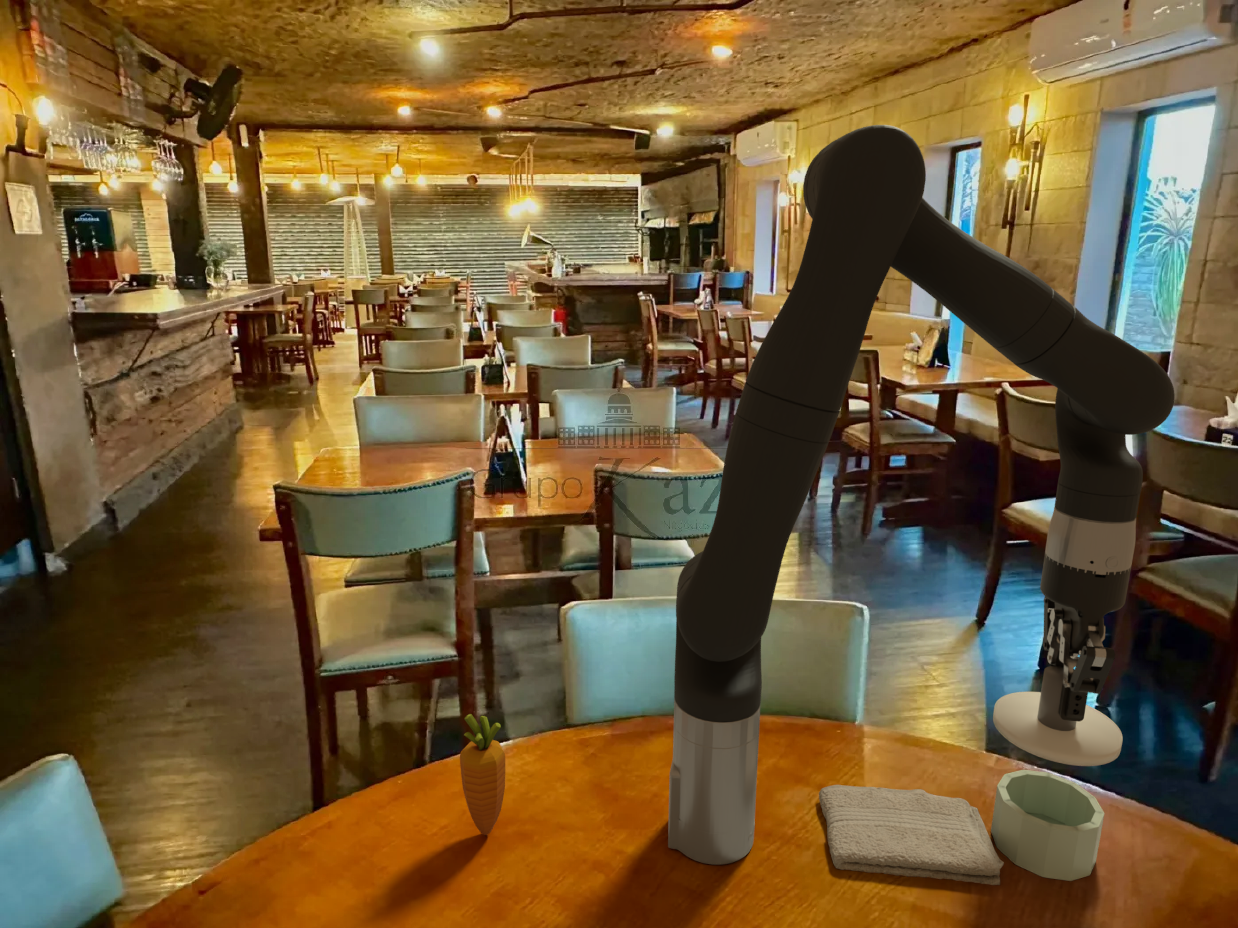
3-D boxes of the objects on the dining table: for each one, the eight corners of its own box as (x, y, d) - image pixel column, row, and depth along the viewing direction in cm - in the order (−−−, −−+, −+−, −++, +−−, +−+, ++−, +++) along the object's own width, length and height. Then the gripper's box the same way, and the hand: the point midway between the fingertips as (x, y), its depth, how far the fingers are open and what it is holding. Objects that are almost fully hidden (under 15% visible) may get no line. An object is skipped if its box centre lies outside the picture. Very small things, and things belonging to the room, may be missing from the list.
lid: (1008, 757, 80) (1016, 697, 78) (982, 695, 91) (988, 642, 90) (1140, 773, 78) (1151, 712, 76) (1096, 707, 89) (1106, 653, 87)
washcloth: (1008, 891, 82) (1011, 866, 81) (831, 876, 84) (833, 851, 83) (972, 814, 94) (975, 791, 93) (817, 802, 96) (818, 780, 95)
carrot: (517, 833, 89) (513, 715, 86) (481, 856, 86) (476, 734, 82) (489, 813, 93) (484, 698, 89) (454, 834, 89) (447, 716, 86)
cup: (1005, 871, 84) (1012, 823, 83) (983, 809, 94) (989, 765, 92) (1108, 886, 82) (1118, 837, 81) (1075, 821, 92) (1083, 776, 90)
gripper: (1027, 529, 87) (1007, 671, 91) (1070, 578, 73) (1045, 742, 78) (1102, 534, 85) (1079, 678, 90) (1160, 585, 72) (1130, 751, 76)
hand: (1063, 707), depth 84 cm, fingers closed on lid, 3 cm apart
